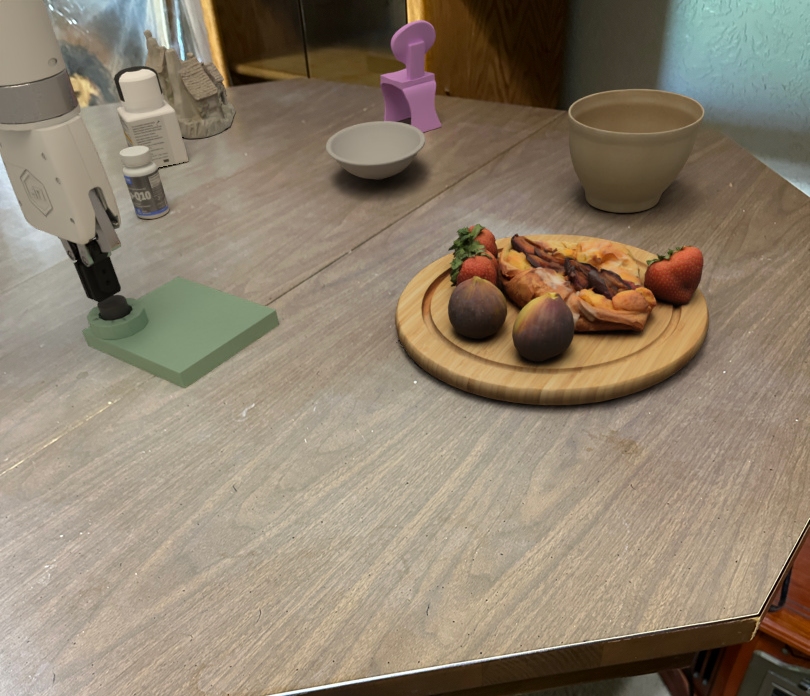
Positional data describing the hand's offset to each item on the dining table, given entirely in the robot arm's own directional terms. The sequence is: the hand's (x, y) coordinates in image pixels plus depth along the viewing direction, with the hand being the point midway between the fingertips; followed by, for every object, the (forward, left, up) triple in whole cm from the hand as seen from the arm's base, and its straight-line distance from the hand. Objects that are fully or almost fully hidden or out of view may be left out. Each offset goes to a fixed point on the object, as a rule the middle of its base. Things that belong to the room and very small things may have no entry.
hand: (105, 294), depth 76 cm
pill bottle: (-25, +25, -6) cm, 36 cm away
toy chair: (-12, +71, -6) cm, 72 cm away
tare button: (0, 0, -2) cm, 2 cm away
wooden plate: (+38, +26, -6) cm, 47 cm away
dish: (-3, +50, -6) cm, 51 cm away
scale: (+5, +4, -6) cm, 9 cm away
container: (-41, +40, -6) cm, 57 cm away
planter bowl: (+32, +58, -6) cm, 67 cm away
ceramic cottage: (-49, +57, -6) cm, 75 cm away
